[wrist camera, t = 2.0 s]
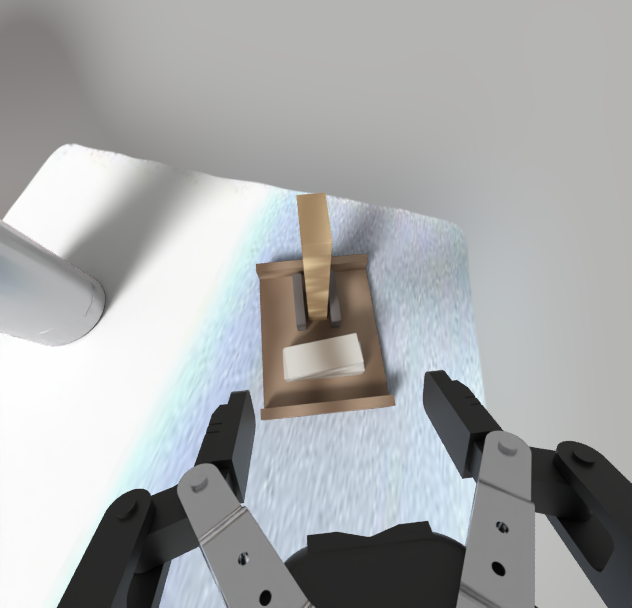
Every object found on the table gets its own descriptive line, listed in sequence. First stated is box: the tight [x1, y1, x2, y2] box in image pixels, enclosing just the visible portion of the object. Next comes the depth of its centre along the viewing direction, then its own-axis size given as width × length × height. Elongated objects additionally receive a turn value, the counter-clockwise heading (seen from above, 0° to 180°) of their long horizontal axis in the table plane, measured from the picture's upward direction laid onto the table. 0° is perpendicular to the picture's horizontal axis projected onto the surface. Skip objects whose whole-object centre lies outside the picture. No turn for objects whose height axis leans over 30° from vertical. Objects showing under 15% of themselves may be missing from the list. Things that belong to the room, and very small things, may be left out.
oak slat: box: [297, 193, 332, 322], centre depth 27 cm, size 2×4×16 cm, turn 6°
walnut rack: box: [256, 254, 395, 420], centre depth 33 cm, size 13×17×3 cm
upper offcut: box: [284, 333, 364, 381], centre depth 29 cm, size 7×3×2 cm, turn 102°
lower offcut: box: [282, 341, 365, 382], centre depth 31 cm, size 8×3×2 cm, turn 96°
